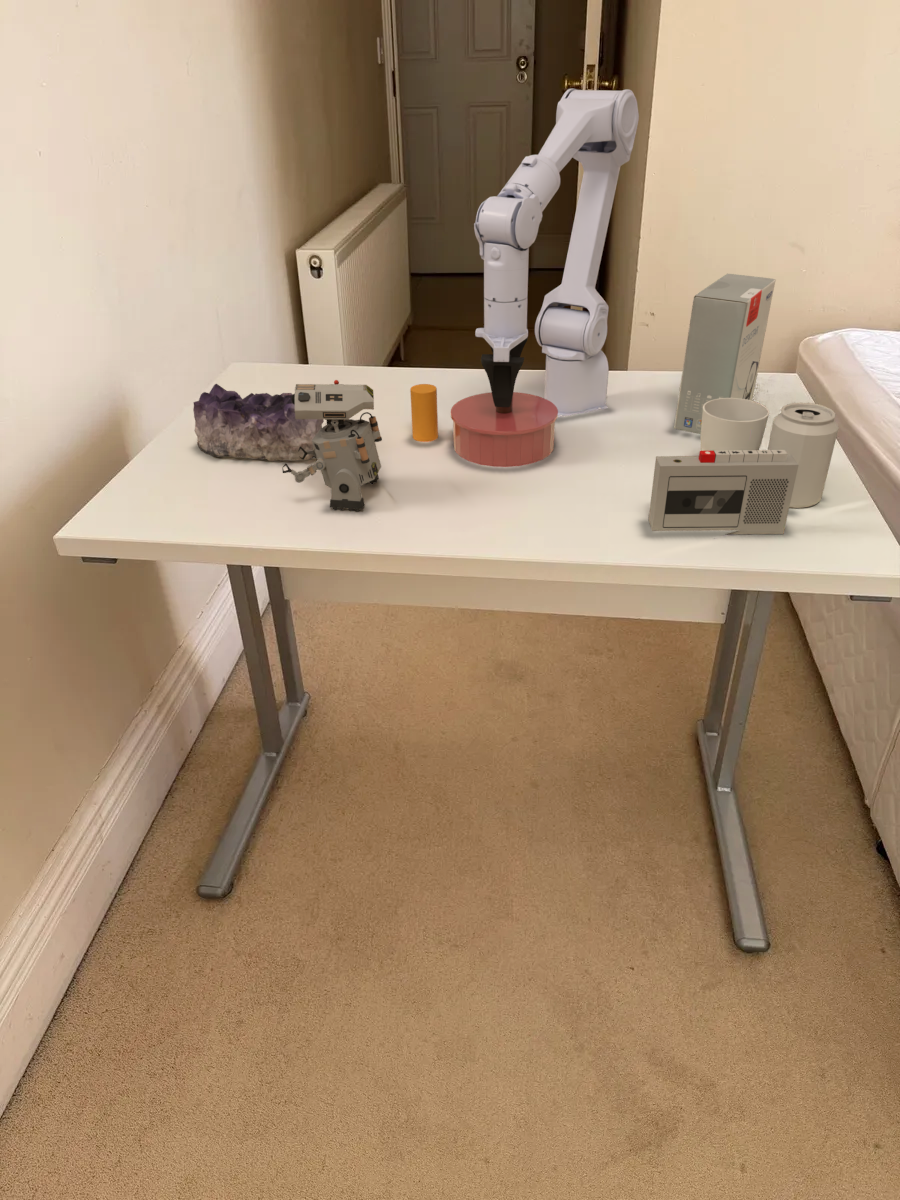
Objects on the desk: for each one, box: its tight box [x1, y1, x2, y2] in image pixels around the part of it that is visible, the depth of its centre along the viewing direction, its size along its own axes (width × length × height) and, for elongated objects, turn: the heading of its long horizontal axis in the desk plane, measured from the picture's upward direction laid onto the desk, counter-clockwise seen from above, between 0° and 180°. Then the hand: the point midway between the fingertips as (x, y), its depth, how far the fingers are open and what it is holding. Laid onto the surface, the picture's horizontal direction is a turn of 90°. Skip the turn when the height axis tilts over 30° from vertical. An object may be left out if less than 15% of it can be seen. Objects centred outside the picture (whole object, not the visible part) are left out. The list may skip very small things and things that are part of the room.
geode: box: [192, 383, 325, 462], centre depth 124 cm, size 20×12×10 cm, turn 84°
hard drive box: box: [673, 273, 777, 435], centre depth 127 cm, size 16×8×20 cm, turn 148°
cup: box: [699, 398, 770, 451], centre depth 112 cm, size 8×8×10 cm
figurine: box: [281, 379, 383, 512], centre depth 110 cm, size 9×12×15 cm
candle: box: [409, 383, 439, 443], centre depth 126 cm, size 4×4×8 cm
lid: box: [450, 391, 559, 435], centre depth 121 cm, size 15×15×5 cm
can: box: [767, 402, 840, 509], centre depth 107 cm, size 8×8×12 cm
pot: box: [452, 420, 556, 468], centre depth 124 cm, size 14×14×5 cm
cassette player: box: [648, 449, 798, 535], centre depth 101 cm, size 16×3×10 cm, turn 89°
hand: (504, 396), depth 121 cm, fingers open, 7 cm apart
